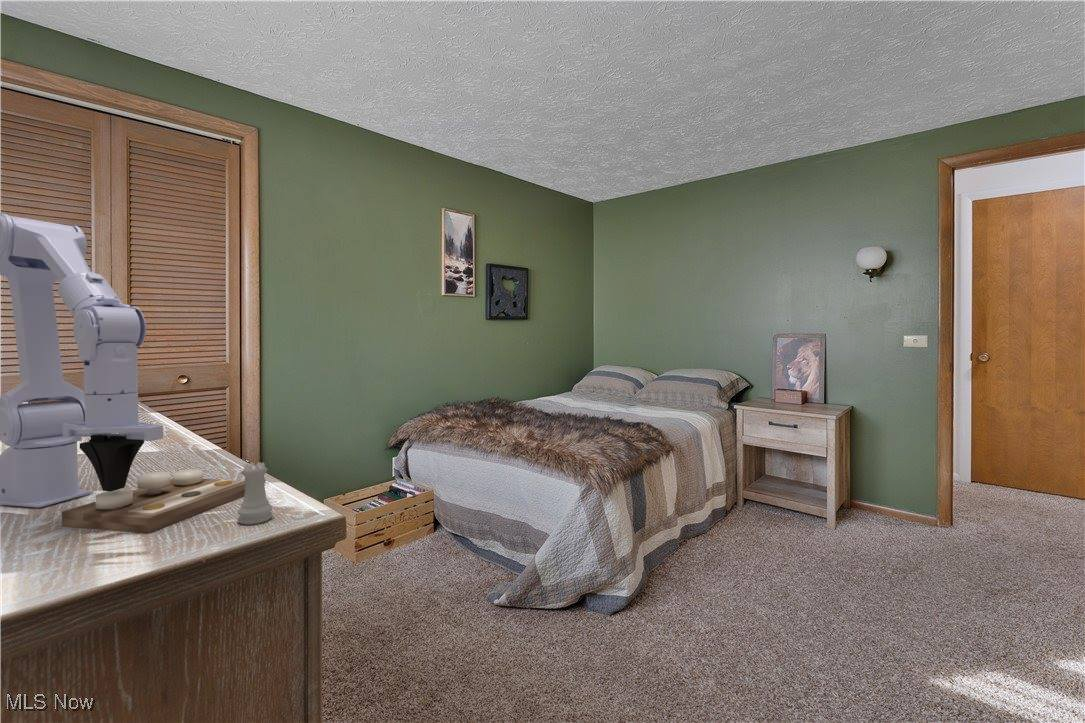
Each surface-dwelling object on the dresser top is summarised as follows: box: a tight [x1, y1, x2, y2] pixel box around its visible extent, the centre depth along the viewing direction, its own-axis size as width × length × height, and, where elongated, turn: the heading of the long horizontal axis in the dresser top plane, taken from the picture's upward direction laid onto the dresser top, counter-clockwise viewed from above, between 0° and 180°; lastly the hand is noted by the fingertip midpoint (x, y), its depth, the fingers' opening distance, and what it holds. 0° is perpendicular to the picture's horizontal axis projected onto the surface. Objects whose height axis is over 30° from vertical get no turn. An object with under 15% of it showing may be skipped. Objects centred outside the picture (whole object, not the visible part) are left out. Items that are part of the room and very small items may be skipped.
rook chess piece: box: [236, 461, 274, 526], centre depth 71 cm, size 4×4×8 cm
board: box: [61, 478, 245, 534], centre depth 77 cm, size 14×18×2 cm
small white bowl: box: [172, 468, 204, 487], centre depth 83 cm, size 4×4×3 cm
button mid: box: [136, 470, 171, 495], centre depth 77 cm, size 4×4×3 cm
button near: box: [94, 488, 134, 511], centre depth 71 cm, size 4×4×3 cm
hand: (113, 489), depth 71 cm, fingers closed
